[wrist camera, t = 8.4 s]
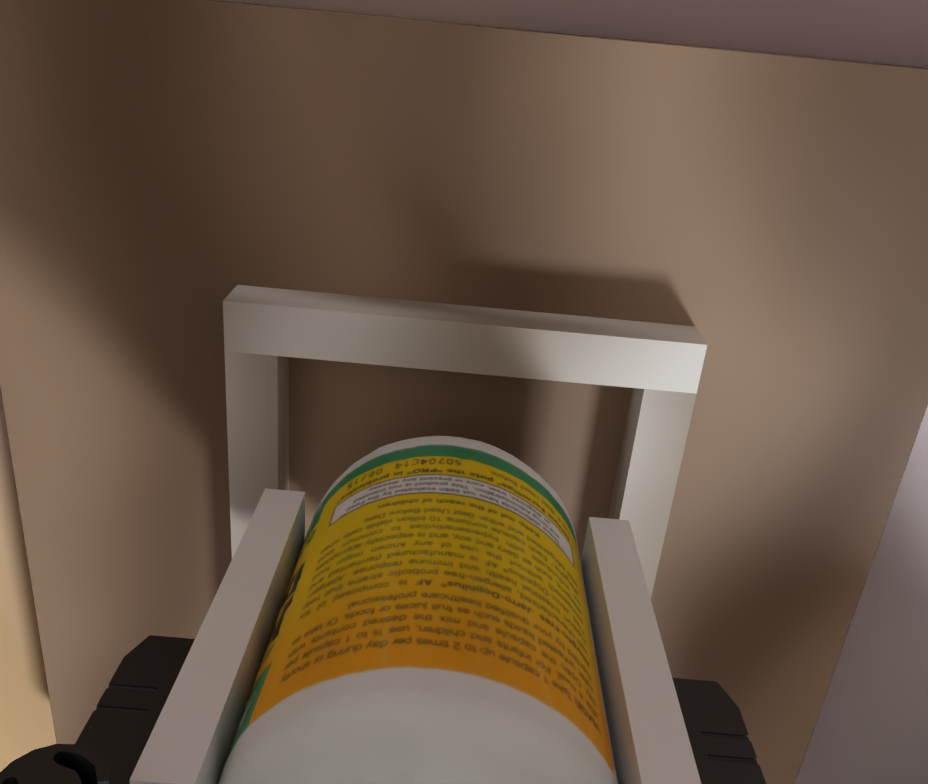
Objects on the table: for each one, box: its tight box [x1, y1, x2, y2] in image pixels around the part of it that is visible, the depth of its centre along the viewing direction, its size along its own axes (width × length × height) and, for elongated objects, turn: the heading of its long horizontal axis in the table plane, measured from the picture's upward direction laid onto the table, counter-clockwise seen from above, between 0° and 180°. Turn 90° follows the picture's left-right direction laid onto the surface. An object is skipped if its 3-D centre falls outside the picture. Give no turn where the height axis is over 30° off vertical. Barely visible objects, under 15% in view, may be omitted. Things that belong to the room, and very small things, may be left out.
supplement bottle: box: [219, 436, 618, 784], centre depth 13 cm, size 5×5×10 cm
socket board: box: [0, 0, 928, 784], centre depth 18 cm, size 19×19×2 cm
